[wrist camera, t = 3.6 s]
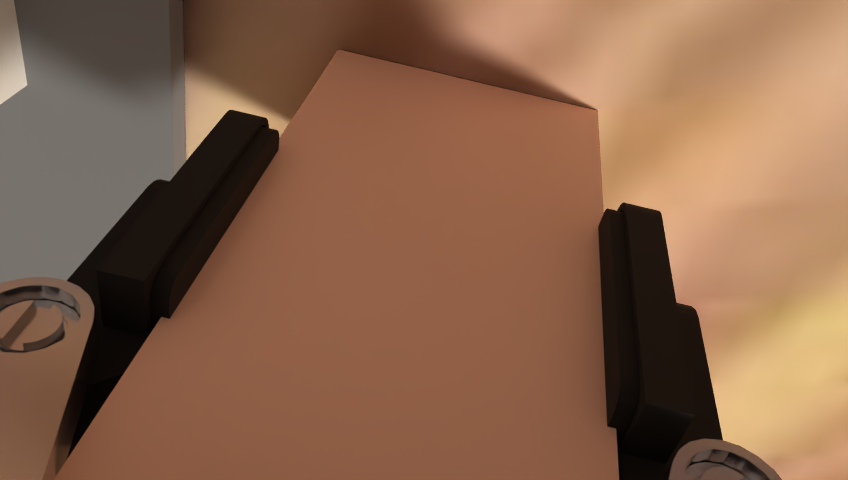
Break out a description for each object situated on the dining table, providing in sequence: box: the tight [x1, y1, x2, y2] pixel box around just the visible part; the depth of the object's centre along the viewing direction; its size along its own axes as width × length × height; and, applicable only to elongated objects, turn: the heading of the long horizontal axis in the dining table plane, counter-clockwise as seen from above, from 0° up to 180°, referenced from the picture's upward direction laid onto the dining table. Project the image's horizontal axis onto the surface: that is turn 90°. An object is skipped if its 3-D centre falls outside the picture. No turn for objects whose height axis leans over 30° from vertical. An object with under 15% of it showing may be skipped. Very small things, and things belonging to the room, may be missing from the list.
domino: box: [55, 49, 619, 480], centre depth 11 cm, size 2×5×10 cm, turn 80°
